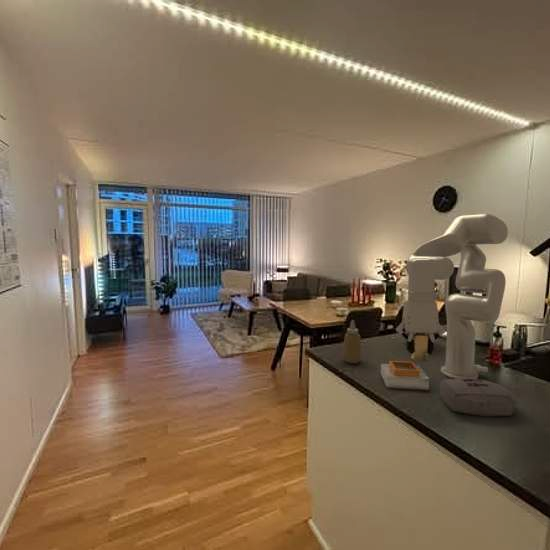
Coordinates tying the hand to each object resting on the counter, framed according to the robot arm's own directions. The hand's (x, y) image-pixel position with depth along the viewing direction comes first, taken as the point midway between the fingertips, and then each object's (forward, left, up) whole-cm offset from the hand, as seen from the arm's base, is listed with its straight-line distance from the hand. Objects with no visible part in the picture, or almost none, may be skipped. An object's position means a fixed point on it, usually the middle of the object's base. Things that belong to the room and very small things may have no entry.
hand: (419, 352), depth 99 cm
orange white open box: (+1, -14, -16) cm, 21 cm away
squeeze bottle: (+18, -32, -16) cm, 40 cm away
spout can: (0, 0, -2) cm, 2 cm away
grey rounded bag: (-17, +2, -16) cm, 24 cm away
